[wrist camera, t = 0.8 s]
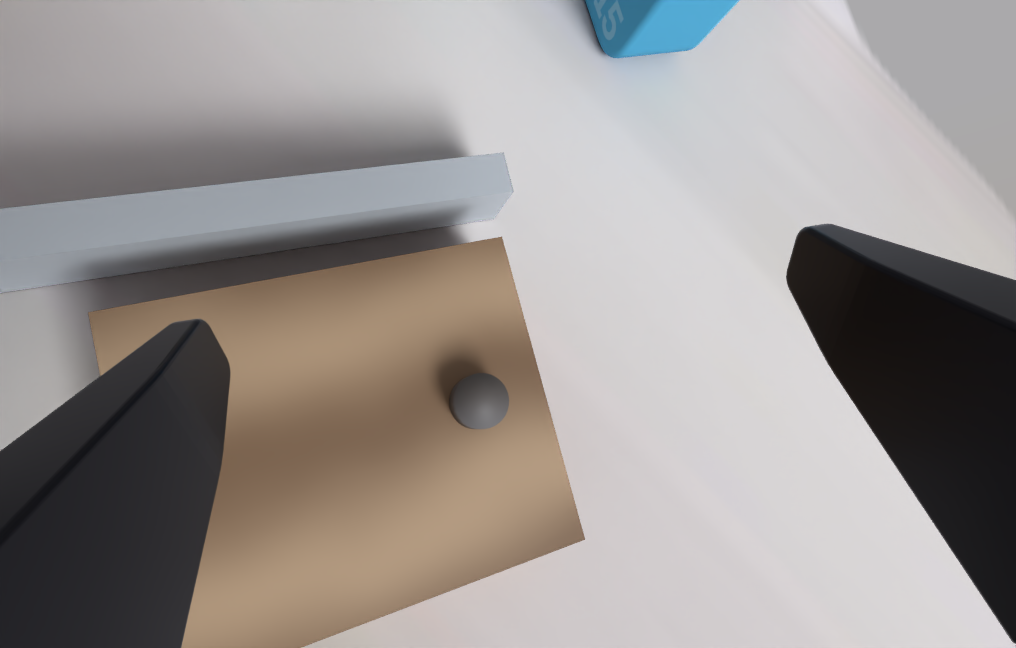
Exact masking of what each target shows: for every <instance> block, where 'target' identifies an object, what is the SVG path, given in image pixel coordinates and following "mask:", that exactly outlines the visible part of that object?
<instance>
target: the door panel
mask: <svg viewBox="0 0 1016 648" xmlns="http://www.w3.org/2000/svg"><path fill="white" fill-rule="evenodd" d="M88 315H89V320H90V325H91V330H92V336H93V341H94V346H95V351H96V356H97V362H98V367H99V372H100V376H101V375H103V374H104V373H105V372H107V371H108V370H109V369H111V368H112V367H113V366H115V365H116V364H117V363H119V362H120V361H121V360H123V359H124V358H125V357H127V356H128V355H129V354H131V353H132V352H133V351H135V350H136V349H137V348H139V347H140V346H141V345H143V344H144V343H145V342H147V341H148V340H149V339H151V338H152V337H153V336H155V335H156V334H157V333H159V332H160V331H161V330H163V329H164V328H165V327H167V326H168V325H169V324H171V323H173V322H178V321H184V320H191V319H202V320H205V321H206V322H207V323H208V324H209V326H210V327H211V329H212V331H213V333H214V335H215V337H216V338H217V340H218V342H219V344H220V346H221V348H222V349H223V351H224V353H225V355H226V357H227V359H228V362H229V365H230V372H231V376H230V387H229V398H228V408H227V419H226V430H225V440H224V451H223V458H222V465H221V471H220V476H219V481H218V485H217V490H216V494H215V499H214V503H213V508H212V512H211V517H210V521H209V526H208V530H207V535H206V539H205V543H204V548H203V552H202V557H201V561H200V566H199V570H198V575H197V579H196V584H195V588H194V593H193V597H192V602H191V606H190V611H189V615H188V620H187V624H186V629H185V633H184V638H183V642H182V647H181V648H301V647H304V646H306V645H309V644H312V643H314V642H317V641H320V640H322V639H325V638H327V637H330V636H333V635H335V634H338V633H341V632H343V631H346V630H348V629H351V628H354V627H356V626H359V625H362V624H364V623H367V622H369V621H372V620H375V619H377V618H380V617H383V616H385V615H388V614H391V613H393V612H396V611H398V610H401V609H404V608H406V607H409V606H412V605H414V604H417V603H419V602H422V601H425V600H427V599H430V598H433V597H435V596H438V595H440V594H443V593H446V592H448V591H451V590H454V589H456V588H459V587H461V586H464V585H467V584H469V583H472V582H475V581H477V580H480V579H483V578H485V577H488V576H490V575H493V574H496V573H498V572H501V571H504V570H506V569H509V568H511V567H514V566H517V565H519V564H522V563H525V562H527V561H530V560H532V559H535V558H538V557H540V556H543V555H546V554H548V553H551V552H553V551H556V550H559V549H561V548H564V547H567V546H569V545H572V544H575V543H577V542H580V541H582V540H585V538H584V534H583V530H582V527H581V523H580V519H579V516H578V512H577V508H576V505H575V501H574V498H573V494H572V490H571V487H570V483H569V479H568V476H567V472H566V468H565V465H564V461H563V458H562V454H561V450H560V447H559V443H558V439H557V436H556V432H555V428H554V425H553V421H552V418H551V414H550V410H549V407H548V403H547V399H546V396H545V392H544V388H543V385H542V381H541V378H540V374H539V370H538V367H537V363H536V359H535V356H534V352H533V348H532V345H531V341H530V337H529V334H528V330H527V327H526V323H525V319H524V316H523V312H522V308H521V305H520V301H519V297H518V294H517V290H516V287H515V283H514V279H513V276H512V272H511V268H510V265H509V261H508V257H507V254H506V250H505V247H504V243H503V239H502V237H498V238H492V239H487V240H481V241H476V242H470V243H465V244H460V245H454V246H449V247H443V248H438V249H432V250H427V251H421V252H416V253H410V254H405V255H399V256H394V257H388V258H383V259H377V260H372V261H366V262H361V263H356V264H350V265H345V266H339V267H334V268H328V269H323V270H317V271H312V272H306V273H301V274H295V275H290V276H284V277H279V278H273V279H268V280H262V281H257V282H251V283H246V284H241V285H235V286H230V287H224V288H219V289H213V290H208V291H202V292H197V293H191V294H186V295H180V296H175V297H169V298H164V299H158V300H153V301H147V302H142V303H137V304H131V305H126V306H120V307H115V308H109V309H104V310H98V311H93V312H88Z"/></svg>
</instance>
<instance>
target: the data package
mask: <svg viewBox="0 0 1016 648" xmlns="http://www.w3.org/2000/svg"><path fill="white" fill-rule="evenodd" d="M585 1H586V4H587V7H588V10H589V13H590V16H591V19H592V22H593V25H594V28H595V31H596V34H597V37H598V40H599V43H600V45H601V47H602V49H603V50H604V52H605V53H606V54H607V55H609V56H610V57H613V58H624V57H633V56H642V55H651V54H660V53H669V52H679V51H687V50H691V49H693V48H695V47H696V46H697V45H699V44H700V43H701V42H702V40H703V39H704V38H705V37H706V36H707V35H708V34H709V33H710V32H711V31H712V30H713V29H714V27H715V26H716V25H717V24H718V23H719V22H720V21H721V20H722V19H723V18H724V17H725V16H726V15H727V13H728V12H729V11H730V10H731V9H732V8H733V7H734V6H735V5H736V4H737V3H738V2H739V0H585Z"/></svg>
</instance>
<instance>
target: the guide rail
mask: <svg viewBox="0 0 1016 648" xmlns="http://www.w3.org/2000/svg"><path fill="white" fill-rule="evenodd" d="M513 192H514V191H513V187H512V183H511V179H510V175H509V171H508V167H507V164H506V160H505V156H504V153H495V154H486V155H477V156H468V157H459V158H450V159H441V160H432V161H423V162H414V163H405V164H396V165H387V166H378V167H369V168H360V169H352V170H343V171H334V172H325V173H316V174H307V175H298V176H289V177H280V178H271V179H262V180H253V181H244V182H235V183H226V184H217V185H208V186H199V187H190V188H181V189H172V190H163V191H154V192H145V193H136V194H127V195H118V196H109V197H100V198H91V199H82V200H73V201H64V202H55V203H46V204H37V205H28V206H19V207H11V208H2V209H0V293H4V292H10V291H17V290H24V289H30V288H37V287H44V286H50V285H57V284H64V283H71V282H77V281H84V280H91V279H97V278H104V277H111V276H117V275H124V274H131V273H137V272H144V271H151V270H157V269H164V268H171V267H177V266H184V265H191V264H197V263H204V262H211V261H217V260H224V259H231V258H237V257H244V256H251V255H258V254H264V253H271V252H278V251H284V250H291V249H298V248H304V247H311V246H318V245H324V244H331V243H338V242H344V241H351V240H358V239H364V238H371V237H378V236H384V235H391V234H398V233H404V232H411V231H418V230H425V229H431V228H438V227H445V226H451V225H458V224H465V223H471V222H478V221H485V220H491V219H494V218H495V217H496V215H497V214H498V213H499V211H500V210H501V208H502V207H503V206H504V204H505V203H506V202H507V200H508V199H509V197H510V196H511V195H512V193H513Z"/></svg>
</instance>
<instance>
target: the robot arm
mask: <svg viewBox="0 0 1016 648" xmlns="http://www.w3.org/2000/svg"><path fill="white" fill-rule="evenodd" d="M786 279H787V284H788V287H789V290H790V291H791V293H792V295H793V297H794V299H795V301H796V303H797V305H798V307H799V309H800V311H801V313H802V315H803V317H804V319H805V321H806V323H807V325H808V327H809V329H810V331H811V333H812V335H813V336H814V338H815V340H816V342H817V344H818V346H819V348H820V350H821V352H822V354H823V356H824V357H825V359H826V361H827V363H828V365H829V366H830V368H831V369H832V371H833V373H834V374H835V376H836V377H837V379H838V380H839V382H840V383H841V385H842V386H843V388H844V389H845V391H846V392H847V394H848V395H849V397H850V398H851V400H852V401H853V403H854V404H855V406H856V407H857V409H858V410H859V412H860V413H861V415H862V416H863V418H864V419H865V421H866V422H867V424H868V425H869V427H870V428H871V430H872V431H873V433H874V434H875V436H876V437H877V439H878V440H879V442H880V443H881V445H882V446H883V448H884V449H885V451H886V452H887V454H888V455H889V457H890V458H891V460H892V462H893V463H894V465H895V466H896V468H897V469H898V471H899V472H900V474H901V475H902V477H903V478H904V480H905V481H906V483H907V484H908V486H909V487H910V489H911V490H912V492H913V493H914V495H915V496H916V498H917V499H918V501H919V502H920V504H921V505H922V507H923V508H924V510H925V511H926V513H927V514H928V516H929V517H930V519H931V520H932V522H933V523H934V525H935V526H936V528H937V529H938V531H939V532H940V534H941V535H942V537H943V538H944V540H945V541H946V543H947V544H948V546H949V547H950V549H951V550H952V552H953V553H954V555H955V556H956V558H957V559H958V561H959V562H960V564H961V565H962V567H963V568H964V570H965V571H966V573H967V574H968V576H969V577H970V579H971V580H972V582H973V583H974V585H975V586H976V588H977V589H978V591H979V592H980V594H981V595H982V597H983V598H984V600H985V601H986V603H987V604H988V606H989V607H990V609H991V610H992V612H993V613H994V615H995V616H996V618H997V619H998V621H999V622H1000V624H1001V626H1002V627H1003V629H1004V630H1005V632H1006V633H1007V635H1008V636H1009V638H1010V639H1011V641H1012V642H1013V643H1015V644H1016V280H1013V279H1010V278H1007V277H1003V276H1000V275H997V274H993V273H990V272H987V271H984V270H980V269H977V268H974V267H971V266H967V265H964V264H961V263H957V262H954V261H951V260H948V259H944V258H941V257H938V256H934V255H931V254H928V253H925V252H921V251H918V250H915V249H912V248H908V247H905V246H902V245H898V244H895V243H892V242H889V241H885V240H882V239H879V238H876V237H872V236H869V235H866V234H862V233H859V232H856V231H853V230H849V229H846V228H843V227H839V226H836V225H833V224H822V225H815V226H809V227H805V228H803V229H802V230H800V232H799V233H798V235H797V237H796V240H795V244H794V248H793V251H792V255H791V258H790V262H789V265H788V269H787V275H786ZM230 376H231V372H230V365H229V362H228V359H227V357H226V355H225V353H224V351H223V349H222V348H221V346H220V344H219V342H218V340H217V338H216V337H215V335H214V333H213V331H212V329H211V327H210V326H209V324H208V323H207V322H206V321H205V320H202V319H191V320H184V321H178V322H173V323H171V324H169V325H168V326H167V327H165V328H164V329H163V330H161V331H160V332H159V333H157V334H156V335H155V336H153V337H152V338H151V339H149V340H148V341H147V342H145V343H144V344H143V345H141V346H140V347H139V348H137V349H136V350H135V351H133V352H132V353H131V354H129V355H128V356H127V357H125V358H124V359H123V360H121V361H120V362H119V363H117V364H116V365H115V366H113V367H112V368H111V369H109V370H108V371H107V372H105V373H104V374H103V375H101V376H100V377H99V378H97V379H96V380H95V381H93V382H92V383H91V384H89V385H88V386H87V387H85V388H84V389H83V390H81V391H80V392H79V393H77V394H76V395H75V396H73V397H72V398H71V399H69V400H68V401H67V402H65V403H64V404H63V405H61V406H60V407H59V408H57V409H56V410H55V411H53V412H52V413H51V414H49V415H48V416H47V417H45V418H44V419H43V420H41V421H40V422H39V423H37V424H36V425H35V426H33V427H32V428H31V429H29V430H28V431H27V432H25V433H24V434H23V435H21V436H20V437H19V438H17V439H16V440H15V441H13V442H12V443H11V444H9V445H8V446H7V447H5V448H4V449H3V450H1V451H0V648H181V647H182V642H183V638H184V633H185V629H186V624H187V620H188V615H189V611H190V606H191V602H192V597H193V593H194V588H195V584H196V579H197V575H198V570H199V566H200V561H201V557H202V552H203V548H204V543H205V539H206V535H207V530H208V526H209V521H210V517H211V512H212V508H213V503H214V499H215V494H216V490H217V485H218V481H219V476H220V471H221V465H222V458H223V451H224V440H225V430H226V419H227V408H228V398H229V387H230Z"/></svg>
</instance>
